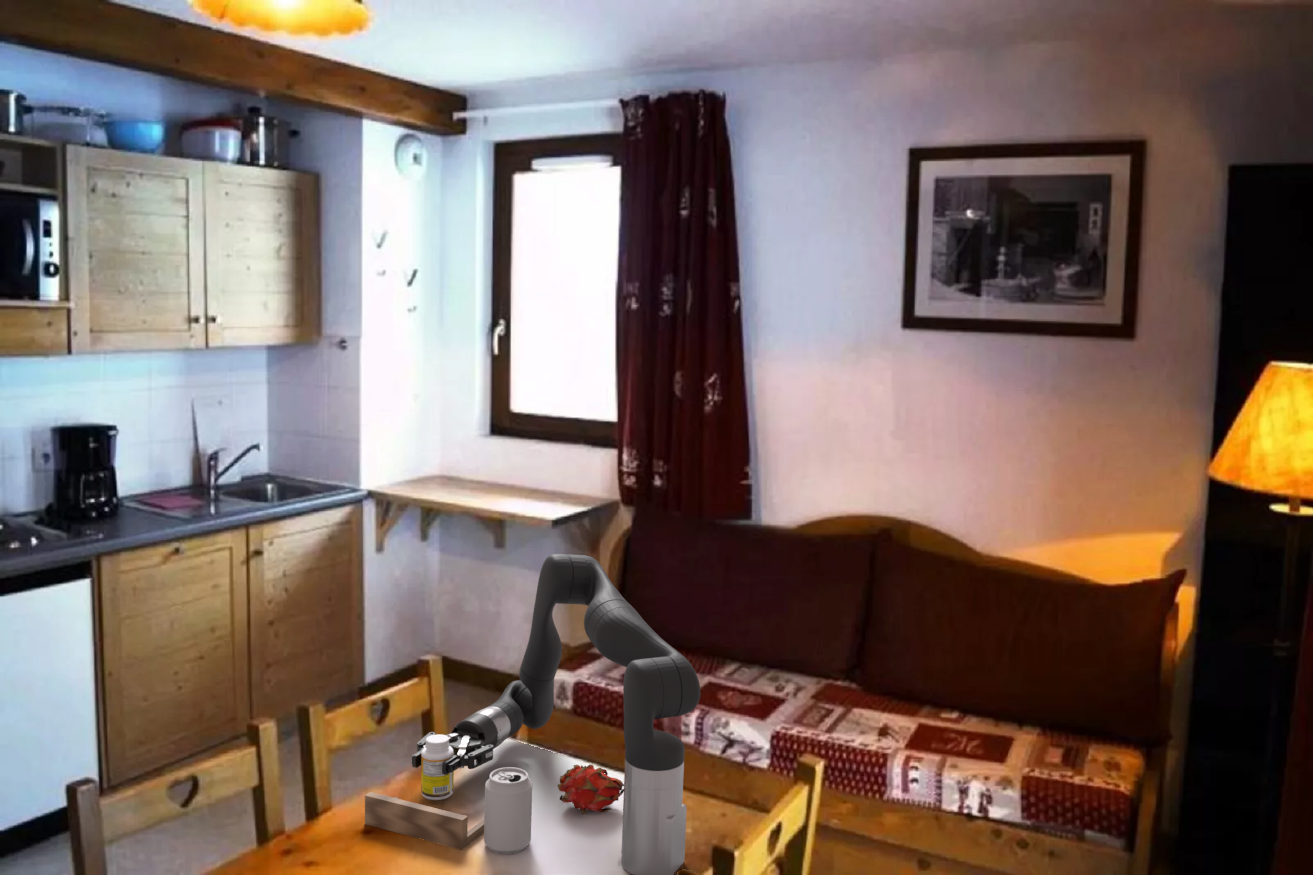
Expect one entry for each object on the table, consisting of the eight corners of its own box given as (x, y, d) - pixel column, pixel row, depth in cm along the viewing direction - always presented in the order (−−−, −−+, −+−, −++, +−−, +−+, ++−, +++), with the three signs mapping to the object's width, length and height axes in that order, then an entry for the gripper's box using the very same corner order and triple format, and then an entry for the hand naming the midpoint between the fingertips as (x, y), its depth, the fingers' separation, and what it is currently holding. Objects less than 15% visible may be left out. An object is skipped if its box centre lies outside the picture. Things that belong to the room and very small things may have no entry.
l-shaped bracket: (488, 829, 182) (489, 800, 182) (462, 850, 175) (462, 820, 174) (394, 805, 190) (394, 777, 189) (364, 824, 182) (364, 795, 182)
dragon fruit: (551, 814, 192) (618, 825, 193) (554, 805, 185) (624, 816, 185) (559, 765, 196) (625, 776, 197) (562, 754, 189) (631, 765, 190)
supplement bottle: (435, 785, 196) (435, 729, 195) (459, 792, 194) (460, 736, 193) (414, 796, 191) (414, 740, 190) (439, 804, 189) (440, 747, 188)
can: (522, 859, 173) (524, 786, 172) (476, 853, 174) (478, 780, 173) (536, 837, 180) (538, 767, 179) (493, 831, 182) (494, 762, 180)
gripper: (449, 706, 207) (394, 737, 192) (515, 719, 202) (464, 752, 186) (449, 744, 208) (394, 778, 193) (515, 759, 202) (463, 795, 187)
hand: (429, 765), depth 190 cm, fingers closed on supplement bottle, 5 cm apart
